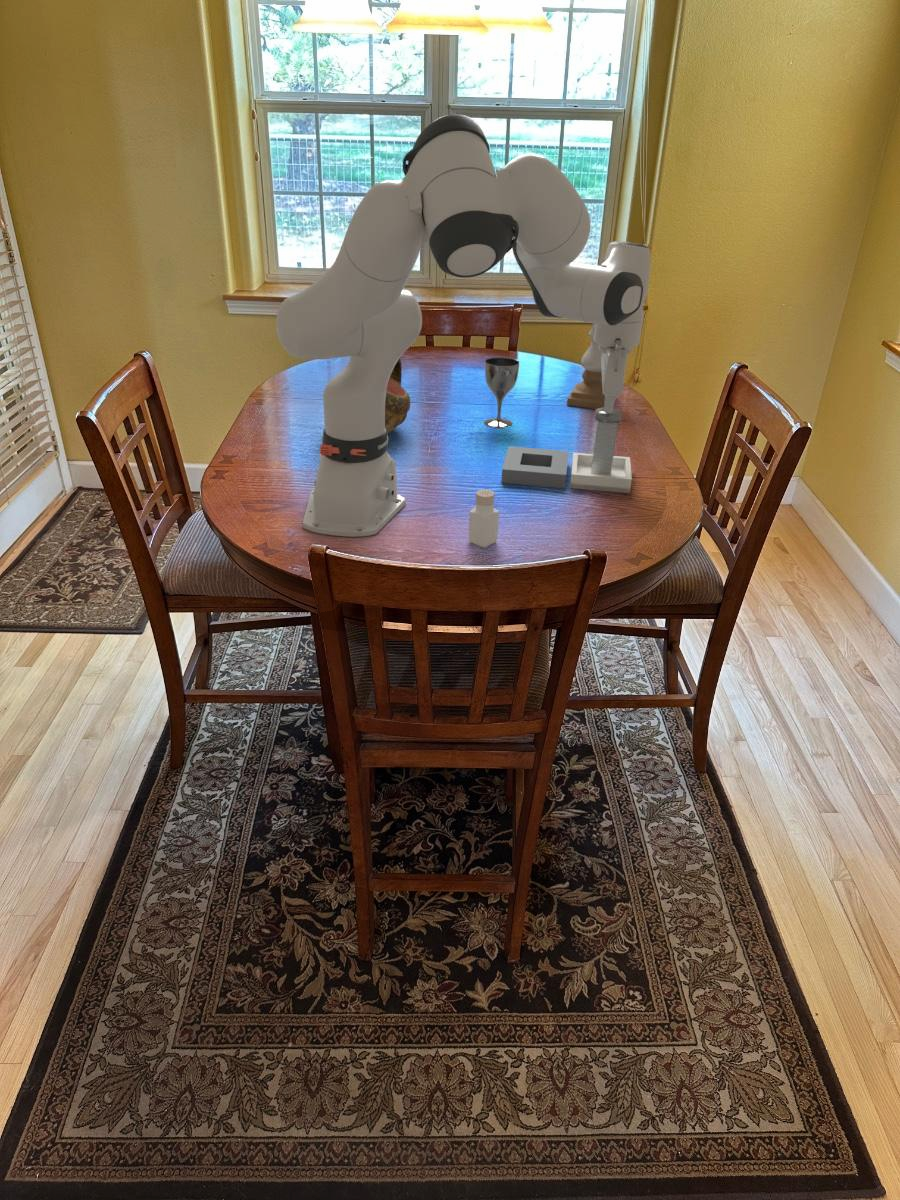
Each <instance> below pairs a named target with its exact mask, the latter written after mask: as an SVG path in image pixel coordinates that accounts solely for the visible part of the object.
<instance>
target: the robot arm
mask: <svg viewBox="0 0 900 1200" xmlns="http://www.w3.org/2000/svg"><path fill="white" fill-rule="evenodd" d="M490 151H491V150H490V145H489V141H488V139H487V138H486V135H485V133H484V131H483V130H482V128H481V127H480V125H479V124H478V123H477V121H475V120H474V119H473V118H472V117H470V116H467V115H464V114H457V113H456V114H455V113H453V114H447V115H443V116H440V117H438V118H437V119H435V120H433V121H432V122H431V123H429V124H428V125H427V126H426V127H425V128H423V130H422V131H421V132H420V133H419V135H418V137H417V138H416V139H415V142H414V144H413V146H412V148H411V149H410V150H409V151H408V152H407V153H405V155H404V158H403V159H402V171H403V174H404V177H402V179H398V180H393V179H392V180H391V179H387V180H383V181H379V182H378V183H375V184H374V185H373V186H371V188H370V189H368V191H367V192H366V194H365V195H364V196H363V198H362V199H361V201H360V202H359V204H358V206H357V207H356V209H355V211H354V213H353V215H352V217H351V219H350V222H349V224H348V227H347V230H346V232H345V234H344V238H343V241H342V244H341V246H340V249H339V251H338V254H337V256H336V258H335V261H334V262H333V264H332V265H331V266H330V267H329V269H328V270H327V271H326V272H325V273H324V274H322V276H320V277H319V278H318V279H317V280H315V282H313V283H312V284H310V285H309V286H308V287H306V288H305V289H304V290H301V291H300V292H298V293H295V294H293V295H292V296H289V297H286V298H285V299H284V300H283V301H282V302H281V304H280V305H279V308H278V310H277V314H276V321H275V327H276V334H277V337H278V338H279V341H280V343H281V345H282V347H283V348H284V350H286V352H287V353H289V354H290V356H292V357H294V358H299V359H300V358H301V359H308V360H329V359H339V358H347V357H350V358H349V361H348V363H347V365H346V366H345V368H343V369H342V371H340V372H339V373H338V374H336V375H335V376H334V377H332V378H331V379H330V380H329V381H328V382H327V384H326V386H325V387H324V390H323V394H322V403H323V416H324V417H323V418H324V429H323V432H322V437H321V445H320V448H319V453H320V454H319V463H318V468H317V473H316V479H315V480H314V489H311V491H310V494H309V496H308V501H307V504H306V508H305V512H304V514H303V515H304V516H303V519H302V528H303V529H305V530H307V531H309V532H313V533H316V534H322V535H326V536H327V535H329V536H337V537H367V536H368V537H369V536H374V535H377V533H379V532H380V531H381V530H382V529H383V528H384V526H386V525H387V524H388V523H389V522H390V521H391V520H392V519H393V518H394V516H395V515H397V513H399V512H400V511H401V510H402V509H403V507H404V506H406V498H405V497H404V496H402V495H401V494H398V492H399V491H398V479H397V478H398V477H397V476H398V475H397V466H396V465H397V464H396V461H395V460H394V459H393V458H392V457H391V456H390V454H389V452H388V448H389V445H388V444H389V436H388V434H387V429H386V428H385V399H386V389H387V385H388V381H389V378H390V375H391V373H392V371H393V369H394V367H395V365H396V363H397V362H398V360H399V358H400V359H401V357H402V356H403V355H404V354H405V352H406V351H407V350H408V349H409V348H410V347H412V346H413V344H415V342H416V341H417V339H418V338H419V335H420V333H421V332H422V331H421V330H422V326H423V315H422V309H421V306H420V304H419V301H418V300H417V298H416V296H414V295H413V293H412V292H411V291H410V290H408V289H404V288H405V287H406V284H407V282H408V280H409V277H410V275H411V273H412V271H413V269H414V267H415V265H416V262H417V261H418V257H419V254H420V251H421V249H422V248H423V247H424V245H426V244H427V242H428V243H429V247H430V250H431V253H432V256H433V258H434V260H435V262H436V264H437V266H438V267H439V268H440V270H441V271H442V272H444V273H445V274H447V275H451V276H454V277H457V278H462V279H463V278H474V277H478V276H481V275H483V274H485V273H487V272H489V271H490V270H492V269H493V268H494V267H495V266H496V265H497V264H498V263H499V262H500V261H502V260H503V259H504V257H505V256H506V254H508V253H509V252H510V250H512V253H513V256H514V259H515V260H516V263H517V265H518V267H519V269H520V270H521V272H522V274H523V276H524V277H525V280H526V281H527V283H528V285H529V287H530V289H531V291H532V296H533V301H534V303H535V306H536V307H537V309H538V310H539V313H540V314H541V315H543V316H544V317H549V318H558V319H562V318H563V319H568V320H572V321H579V322H584V323H590V324H593V323H594V324H595V329H594V337H593V341H594V342H595V343H597V344H599V351H600V352H601V369H602V388H603V397H605V402H604V412H605V413H612V412H613V408H614V407H615V403H616V400H617V397H620V396H622V394H623V391H624V385H625V384H624V383H625V378H626V377H625V376H626V371H627V370H626V368H627V361H628V359H627V357H628V356H627V355H630V354H631V353H632V352H633V348H635V347H638V346H639V345H640V344H641V343H640V342H641V336H642V330H643V323H644V304H645V301H646V299H647V297H648V293H649V287H650V286H649V285H650V277H651V250H650V248H648V246H646V245H645V244H642V243H638V242H637V243H636V242H630V241H622V240H614V241H611V242H610V243H609V244H608V247H607V249H606V253H605V257H604V260H603V262H602V263H601V264H600V265H599V264H598V265H596V264H589V263H584V262H576V261H575V260H576V259H577V258H578V257H579V256H580V254H581V253H582V252H583V251H584V249H585V247H586V246H587V243H588V240H589V237H590V233H591V218H590V214H589V209H588V207H587V206H586V204H585V202H584V200H583V199H582V197H581V195H580V194H579V192H578V190H577V189H576V188H575V186H574V185H573V184H572V182H571V181H570V179H569V178H568V177H567V176H566V174H564V173H563V172H562V170H560V168H558V166H556V165H555V164H554V163H553V162H552V161H551V160H550V159H548V158H546V157H545V156H544V155H541V154H538V153H524V154H521V155H518V156H516V157H514V158H513V159H511V160H510V161H509V162H507V164H505V166H504V167H503V168H502V169H499V168H497V169H495V167H494V163H493V160H492V156H491V154H490V153H491V152H490Z"/></svg>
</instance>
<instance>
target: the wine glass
mask: <svg viewBox="0 0 900 1200" xmlns="http://www.w3.org/2000/svg"><path fill="white" fill-rule="evenodd" d="M519 369H520V361H519V360H518V359H516V358H513V357H509V356H492V357H488V358H486V359H485V361H484V377H485V382H486V385H487V387H488V388H489V390H490V391H491V392H492V394H493V395H494V397H495V399H496V402H497V404H496V405H497V412H496V413H497V414H496V416H497V417H492V418H487V419H485V420H484V421H483V424H484V425H485V426H486V425H487V426H486V427H488V426H489V428H492V427H495V428H494V429H504V428H503V427H508V426H511V427H512V426H513V425H514V422H513V421H512V422H513V423H512V422H511V420H510V419H507V418H503V417H501V413H502V406H503V401H504V399H505V398H506V396H507V395H508V394H509V393H510V392H511V391H512V390H513V388H514V387H515V386H516V382H517V380H518V376H519ZM502 418H503V419H502ZM512 424H513V425H512ZM508 428H509V427H508Z"/></svg>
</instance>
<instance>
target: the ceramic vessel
mask: <svg viewBox="0 0 900 1200" xmlns="http://www.w3.org/2000/svg"><path fill="white" fill-rule="evenodd" d="M402 368H403V367H402V361H401V357H400V358H399V360H398V362H397V363H396V365H395V367H394V369H393V371H392V373H391V375H390V378H389V381H388V385H387V389H386V399H385V428H386V429H387V435H388V434H390V433H392V432H394V430H395V429H396V428H398V426H400V425H402V424H403V423H404V422H405V421H406V418H407V415H408V412H409V411H410V409H411V404H412V403H411V397H410V394H409V392H407V390H406V389H405V388H403V387H402Z"/></svg>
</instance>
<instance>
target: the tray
mask: <svg viewBox="0 0 900 1200" xmlns="http://www.w3.org/2000/svg"><path fill="white" fill-rule="evenodd" d="M592 456H593V453H586V452H585V453H584V452H583V453H582V452H573V453H572V461H571V472H570V480H569V481H570V485H569V489H577V490H578V489H579V490H588V491H589V490H590V491H600V492H610V493H611V492H612V493H621V494H623V493H624V494H630V493H631V486H632V481H633V479H632V468H631V467H632V464H631V457H630V456H619V455H613V462H612V469H611V476H608V475H596V474H591V464H592Z"/></svg>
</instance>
